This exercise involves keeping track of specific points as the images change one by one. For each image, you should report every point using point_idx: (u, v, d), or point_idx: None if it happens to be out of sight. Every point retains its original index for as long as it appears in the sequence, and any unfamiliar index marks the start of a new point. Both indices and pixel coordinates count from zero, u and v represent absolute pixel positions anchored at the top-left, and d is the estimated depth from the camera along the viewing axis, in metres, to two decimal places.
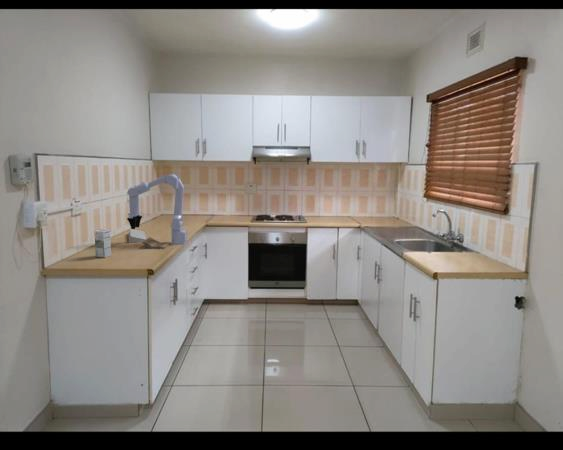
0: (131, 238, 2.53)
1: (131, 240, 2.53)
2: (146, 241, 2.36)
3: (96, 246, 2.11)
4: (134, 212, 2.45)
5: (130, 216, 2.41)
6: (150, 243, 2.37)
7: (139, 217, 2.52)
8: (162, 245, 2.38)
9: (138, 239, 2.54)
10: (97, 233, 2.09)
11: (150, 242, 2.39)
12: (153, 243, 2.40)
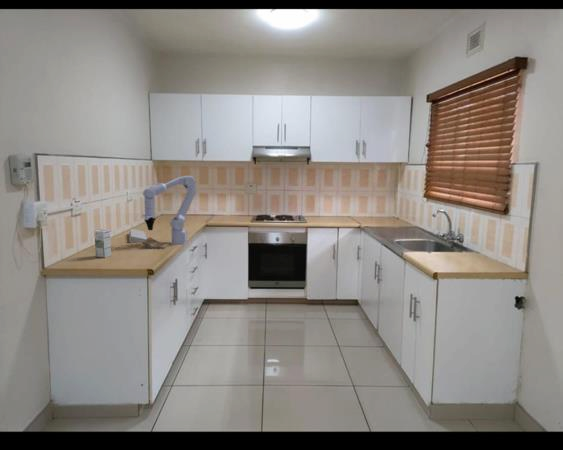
0: (131, 238, 2.53)
1: (131, 240, 2.53)
2: (146, 241, 2.36)
3: (96, 246, 2.11)
4: (149, 214, 2.38)
5: (146, 218, 2.34)
6: (150, 243, 2.37)
7: None
8: (162, 245, 2.38)
9: (138, 239, 2.54)
10: (97, 233, 2.09)
11: (150, 242, 2.39)
12: (153, 243, 2.40)
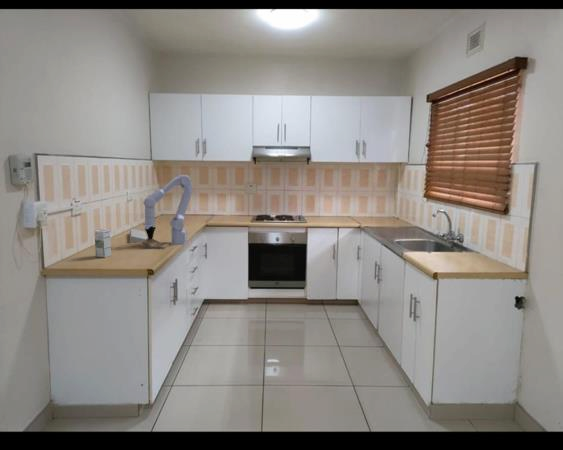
0: (132, 238, 2.53)
1: (132, 240, 2.53)
2: (146, 241, 2.36)
3: (96, 246, 2.11)
4: (150, 223, 2.39)
5: (146, 227, 2.35)
6: (150, 243, 2.37)
7: None
8: (162, 245, 2.38)
9: (139, 239, 2.55)
10: (97, 233, 2.09)
11: (150, 242, 2.39)
12: (153, 243, 2.40)
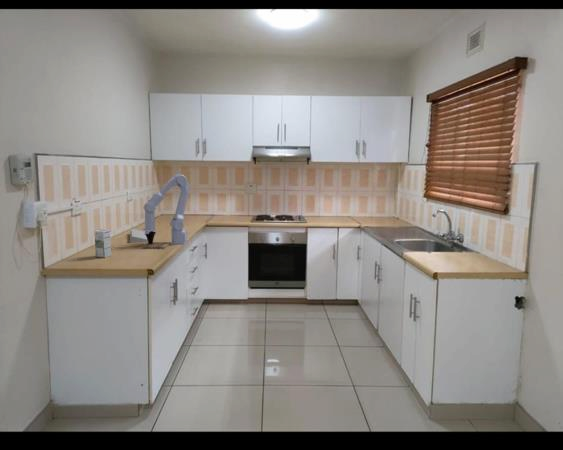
0: (132, 238, 2.53)
1: (132, 240, 2.53)
2: (145, 245, 2.37)
3: (96, 246, 2.11)
4: (150, 227, 2.40)
5: (146, 232, 2.35)
6: (149, 245, 2.37)
7: None
8: (162, 245, 2.38)
9: (139, 239, 2.55)
10: (97, 233, 2.09)
11: (149, 245, 2.39)
12: (153, 244, 2.40)
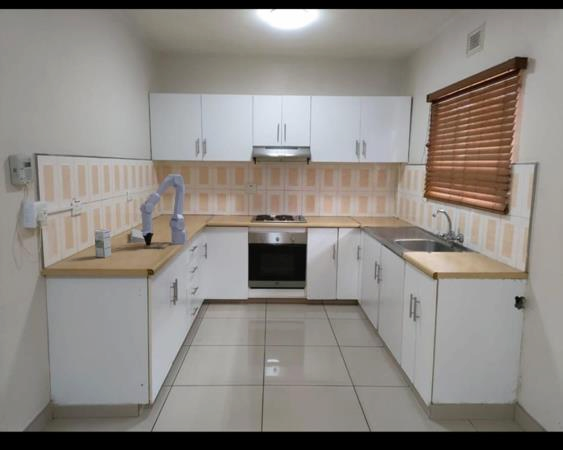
0: (133, 238, 2.53)
1: (133, 240, 2.53)
2: (145, 245, 2.37)
3: (96, 246, 2.11)
4: (147, 229, 2.34)
5: (143, 233, 2.30)
6: (149, 245, 2.37)
7: None
8: (162, 245, 2.38)
9: (140, 239, 2.55)
10: (97, 233, 2.09)
11: (149, 245, 2.39)
12: (153, 244, 2.40)
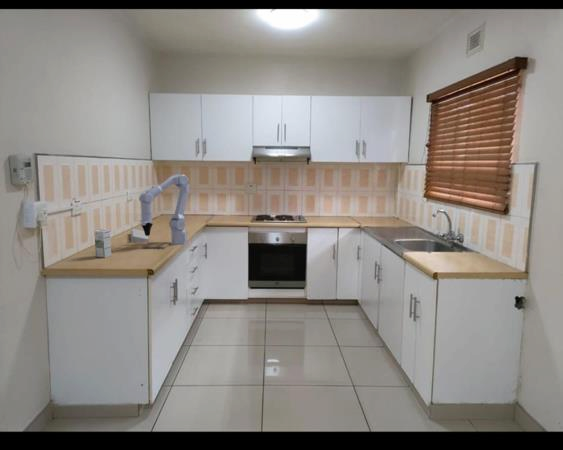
0: (133, 238, 2.53)
1: (133, 240, 2.53)
2: (145, 245, 2.37)
3: (96, 246, 2.11)
4: (146, 219, 2.33)
5: (143, 223, 2.29)
6: (149, 245, 2.37)
7: None
8: (162, 245, 2.38)
9: (140, 239, 2.55)
10: (97, 233, 2.09)
11: (149, 245, 2.39)
12: (153, 244, 2.40)
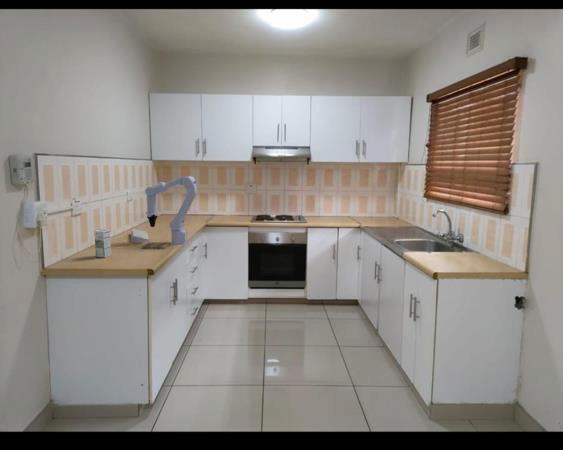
0: (134, 238, 2.53)
1: (134, 240, 2.53)
2: (145, 245, 2.37)
3: (96, 246, 2.11)
4: (152, 211, 2.48)
5: (148, 215, 2.44)
6: (149, 245, 2.37)
7: None
8: (162, 245, 2.38)
9: (141, 239, 2.55)
10: (97, 233, 2.09)
11: (149, 245, 2.39)
12: (153, 244, 2.40)
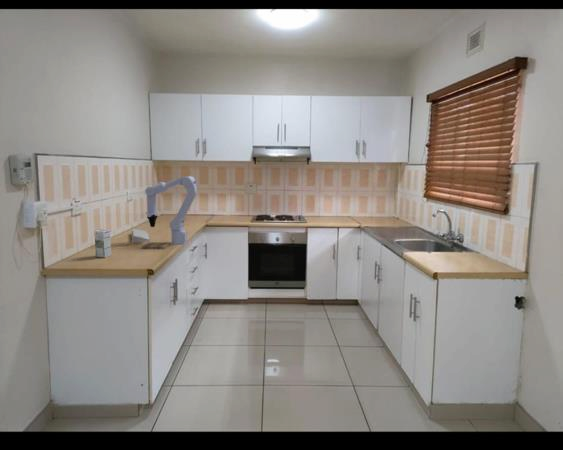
0: (134, 238, 2.53)
1: (134, 240, 2.53)
2: (145, 245, 2.37)
3: (96, 246, 2.11)
4: (152, 211, 2.48)
5: (148, 215, 2.44)
6: (149, 245, 2.37)
7: None
8: (162, 245, 2.38)
9: (141, 239, 2.55)
10: (97, 233, 2.09)
11: (149, 245, 2.39)
12: (153, 244, 2.40)
